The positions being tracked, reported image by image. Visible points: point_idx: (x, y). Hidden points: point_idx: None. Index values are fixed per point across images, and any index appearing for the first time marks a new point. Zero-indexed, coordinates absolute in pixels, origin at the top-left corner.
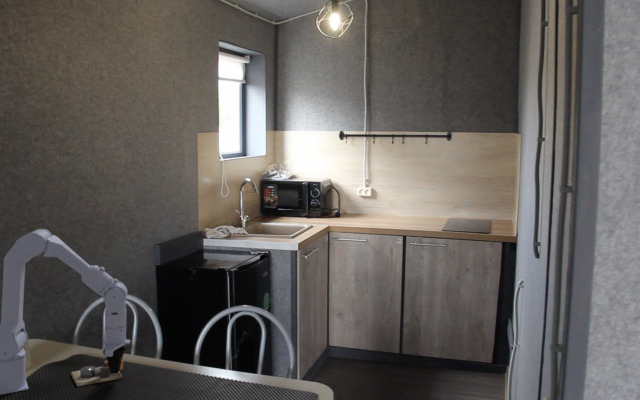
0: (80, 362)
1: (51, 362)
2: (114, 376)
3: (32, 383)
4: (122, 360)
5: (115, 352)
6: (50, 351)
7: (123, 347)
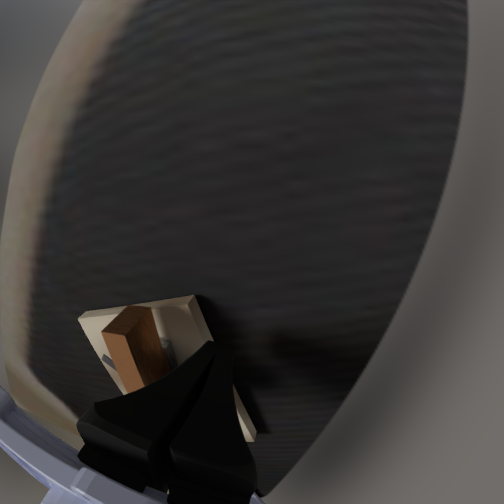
0: (67, 382)
1: None
2: (203, 336)
3: None
4: (121, 338)
5: (247, 498)
6: (40, 406)
7: (139, 458)
